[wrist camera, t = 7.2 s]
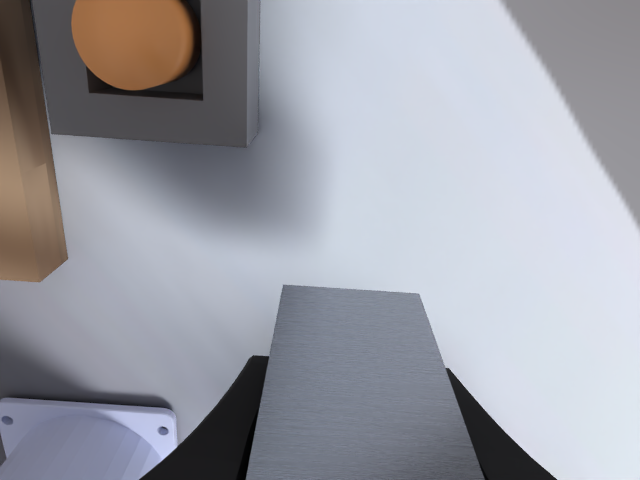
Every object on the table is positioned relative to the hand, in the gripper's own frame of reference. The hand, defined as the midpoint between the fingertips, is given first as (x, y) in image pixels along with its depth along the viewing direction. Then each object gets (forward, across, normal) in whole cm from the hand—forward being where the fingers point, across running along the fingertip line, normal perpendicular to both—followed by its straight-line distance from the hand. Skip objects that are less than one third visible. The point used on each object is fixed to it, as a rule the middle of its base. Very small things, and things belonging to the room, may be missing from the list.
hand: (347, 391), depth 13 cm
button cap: (+5, +6, -8) cm, 12 cm away
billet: (+2, 0, 0) cm, 2 cm away
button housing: (+7, +6, -8) cm, 13 cm away
